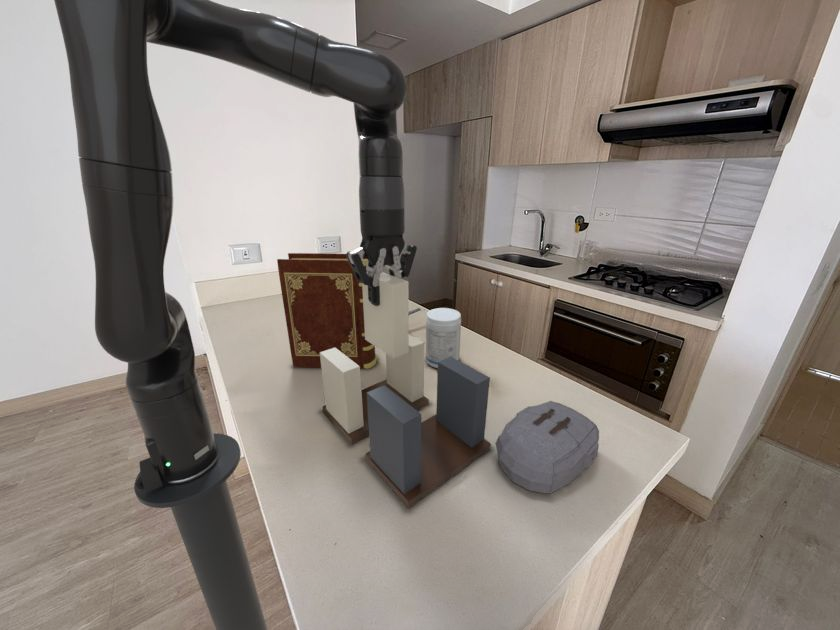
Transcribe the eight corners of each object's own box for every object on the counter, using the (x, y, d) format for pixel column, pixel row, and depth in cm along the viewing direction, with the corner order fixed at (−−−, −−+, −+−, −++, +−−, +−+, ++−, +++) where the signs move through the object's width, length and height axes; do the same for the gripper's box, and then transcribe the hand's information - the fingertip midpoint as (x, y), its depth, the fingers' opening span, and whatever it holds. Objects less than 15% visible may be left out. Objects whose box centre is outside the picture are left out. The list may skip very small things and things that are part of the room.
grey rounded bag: (537, 416, 75) (476, 460, 63) (542, 383, 72) (479, 423, 60) (608, 456, 64) (550, 519, 52) (618, 420, 61) (558, 478, 49)
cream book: (393, 358, 62) (392, 284, 57) (365, 339, 69) (361, 272, 64) (408, 352, 64) (408, 281, 59) (379, 335, 71) (377, 269, 66)
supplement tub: (433, 350, 103) (435, 305, 97) (463, 357, 99) (466, 310, 93) (419, 365, 95) (420, 316, 89) (451, 373, 91) (453, 323, 85)
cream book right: (412, 402, 77) (411, 347, 71) (386, 383, 84) (384, 331, 78) (423, 396, 79) (424, 342, 73) (398, 378, 86) (397, 327, 81)
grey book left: (404, 494, 54) (403, 423, 49) (370, 457, 61) (366, 392, 56) (420, 483, 56) (421, 413, 51) (386, 448, 63) (384, 384, 58)
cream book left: (348, 433, 67) (343, 372, 62) (326, 409, 74) (319, 352, 69) (363, 426, 69) (359, 366, 64) (340, 402, 76) (335, 347, 71)
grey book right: (471, 447, 64) (477, 384, 59) (435, 420, 71) (437, 361, 66) (484, 439, 66) (490, 377, 61) (448, 413, 73) (450, 356, 68)
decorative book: (378, 355, 100) (374, 253, 89) (374, 369, 93) (369, 260, 81) (302, 353, 100) (288, 252, 89) (292, 367, 93) (276, 259, 82)
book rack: (408, 508, 54) (408, 501, 53) (322, 411, 76) (321, 406, 75) (490, 449, 66) (491, 443, 65) (395, 380, 88) (395, 375, 87)
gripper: (402, 203, 64) (403, 290, 70) (332, 205, 56) (340, 304, 62) (428, 205, 59) (426, 300, 65) (355, 209, 50) (361, 317, 57)
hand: (384, 301), depth 63 cm, fingers closed on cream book, 3 cm apart
